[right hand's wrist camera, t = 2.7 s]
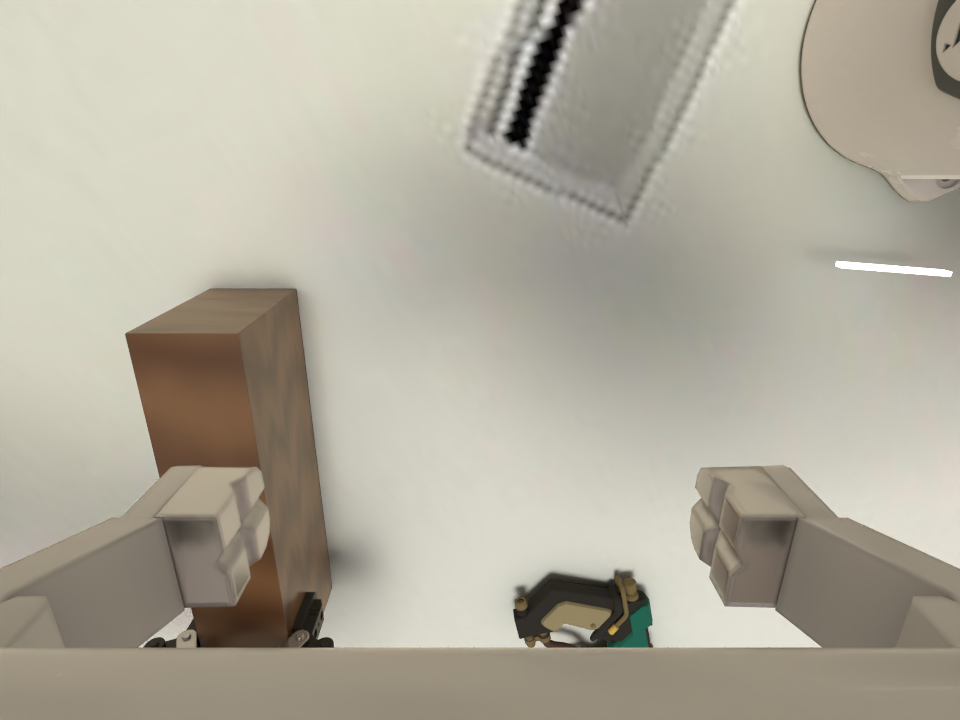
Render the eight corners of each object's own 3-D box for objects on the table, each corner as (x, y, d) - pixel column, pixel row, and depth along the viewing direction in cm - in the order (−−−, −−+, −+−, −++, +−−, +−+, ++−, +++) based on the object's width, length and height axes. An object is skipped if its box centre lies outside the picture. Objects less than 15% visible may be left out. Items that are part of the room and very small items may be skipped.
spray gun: (514, 561, 48) (684, 564, 48) (501, 709, 53) (656, 710, 53) (519, 596, 44) (705, 599, 44) (505, 753, 49) (672, 753, 49)
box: (209, 288, 38) (124, 333, 29) (296, 288, 38) (238, 333, 29) (262, 587, 48) (211, 692, 39) (332, 587, 48) (297, 692, 39)
